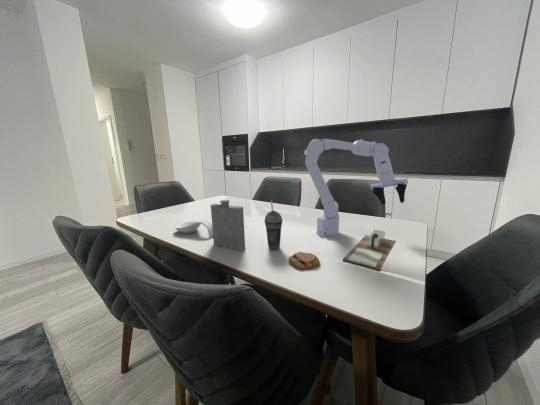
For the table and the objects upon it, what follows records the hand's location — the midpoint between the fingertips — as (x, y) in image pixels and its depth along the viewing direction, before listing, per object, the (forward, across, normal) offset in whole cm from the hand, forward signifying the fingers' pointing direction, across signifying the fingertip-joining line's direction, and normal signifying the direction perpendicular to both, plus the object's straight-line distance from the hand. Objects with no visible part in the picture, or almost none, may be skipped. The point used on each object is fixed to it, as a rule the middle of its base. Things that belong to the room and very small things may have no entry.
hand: (392, 203), depth 93 cm
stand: (+13, +3, +20) cm, 24 cm away
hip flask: (-4, +43, +57) cm, 72 cm away
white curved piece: (-11, +68, +60) cm, 92 cm away
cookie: (+6, +13, +45) cm, 48 cm away
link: (+12, +4, +14) cm, 19 cm away
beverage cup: (+2, +29, +45) cm, 53 cm away
